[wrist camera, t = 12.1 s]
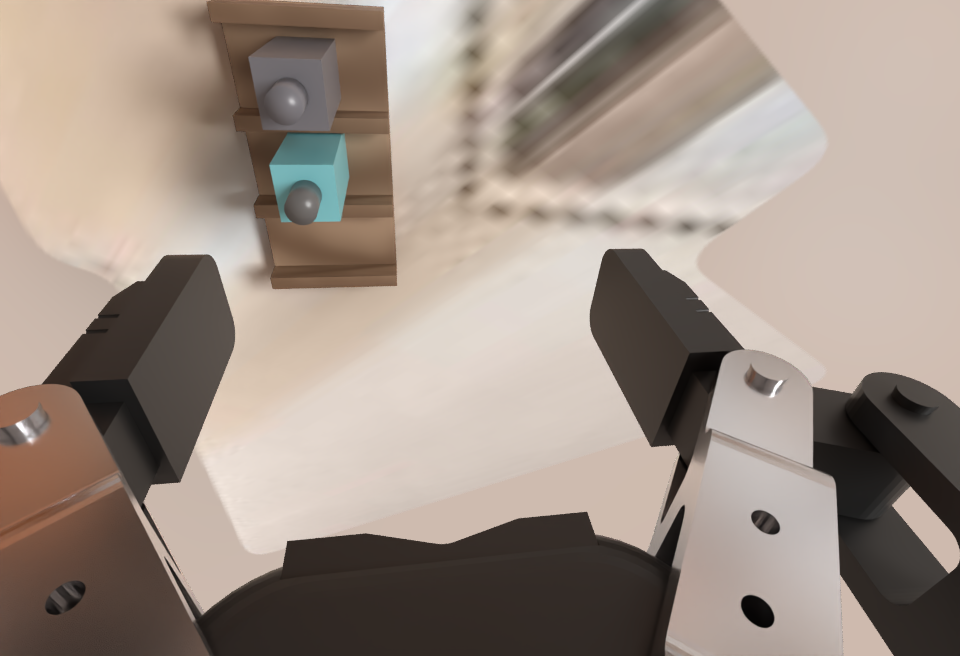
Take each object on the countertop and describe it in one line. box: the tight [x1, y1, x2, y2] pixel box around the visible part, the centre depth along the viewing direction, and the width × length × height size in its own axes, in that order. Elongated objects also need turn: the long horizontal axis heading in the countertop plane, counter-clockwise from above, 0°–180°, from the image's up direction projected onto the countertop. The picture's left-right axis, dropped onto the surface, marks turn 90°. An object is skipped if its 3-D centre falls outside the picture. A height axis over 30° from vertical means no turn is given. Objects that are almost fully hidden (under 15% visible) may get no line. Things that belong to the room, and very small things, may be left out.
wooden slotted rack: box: [207, 0, 397, 289], centre depth 36 cm, size 20×10×3 cm, turn 177°
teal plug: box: [269, 132, 349, 225], centre depth 32 cm, size 4×4×10 cm
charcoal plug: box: [248, 36, 341, 131], centre depth 29 cm, size 4×4×10 cm
